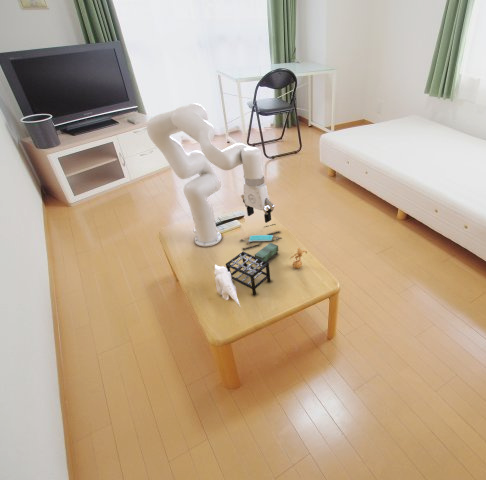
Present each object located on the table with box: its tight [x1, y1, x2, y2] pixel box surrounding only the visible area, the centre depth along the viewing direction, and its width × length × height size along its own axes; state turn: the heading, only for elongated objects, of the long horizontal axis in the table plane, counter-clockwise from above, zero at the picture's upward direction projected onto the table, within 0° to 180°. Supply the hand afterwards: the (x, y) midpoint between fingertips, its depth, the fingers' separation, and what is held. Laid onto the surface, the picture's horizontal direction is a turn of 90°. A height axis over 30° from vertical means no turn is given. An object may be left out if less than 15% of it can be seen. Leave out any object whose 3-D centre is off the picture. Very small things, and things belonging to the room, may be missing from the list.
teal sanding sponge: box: [254, 242, 279, 265], centre depth 152 cm, size 11×4×5 cm, turn 147°
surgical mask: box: [240, 223, 283, 250], centre depth 164 cm, size 21×4×10 cm
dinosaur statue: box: [213, 264, 241, 307], centre depth 130 cm, size 7×24×11 cm, turn 35°
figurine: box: [289, 247, 308, 270], centre depth 144 cm, size 8×6×12 cm
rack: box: [225, 251, 272, 297], centre depth 137 cm, size 14×10×10 cm
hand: (259, 217), depth 141 cm, fingers open, 9 cm apart
